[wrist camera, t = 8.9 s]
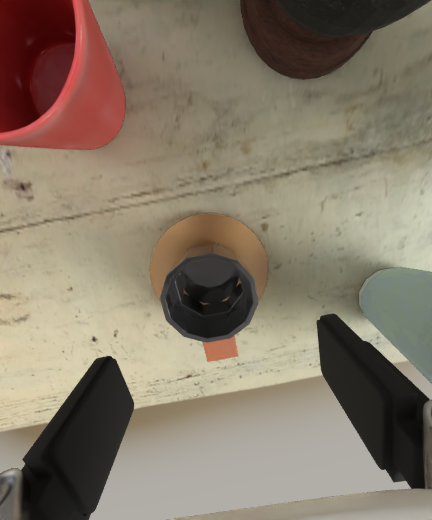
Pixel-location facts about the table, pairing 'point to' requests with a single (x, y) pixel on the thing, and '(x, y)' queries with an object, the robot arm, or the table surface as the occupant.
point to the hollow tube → (210, 298)
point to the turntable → (204, 232)
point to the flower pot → (56, 77)
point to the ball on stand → (316, 31)
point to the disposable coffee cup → (402, 312)
